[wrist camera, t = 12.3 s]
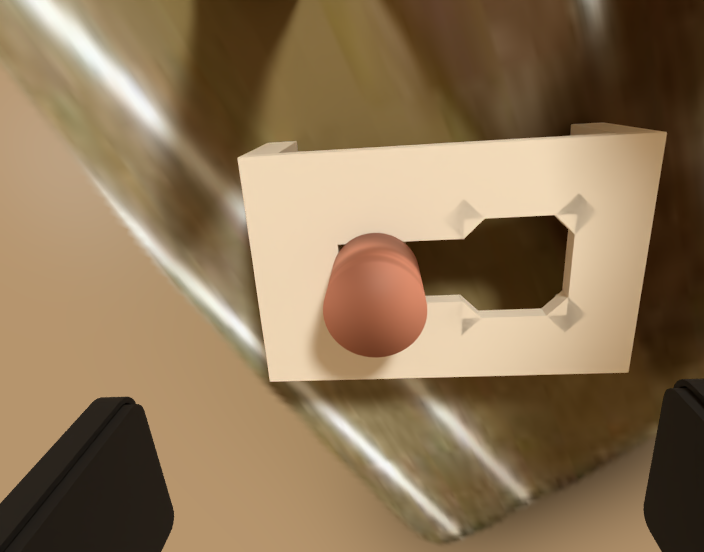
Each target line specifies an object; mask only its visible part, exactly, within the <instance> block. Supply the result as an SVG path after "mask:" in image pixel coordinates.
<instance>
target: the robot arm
mask: <svg viewBox="0 0 704 552" xmlns="http://www.w3.org/2000/svg"><path fill="white" fill-rule="evenodd" d="M644 516H645V521H646V523H647V526H648V528H649V530H650V532H651V534H652V536H653V537H654V539H655V540H656V542H657V544H658V546H659V548H660V549H661V551H662V552H704V379H681V380H679V381H677V382H676V383H675V385H674V388H670V389H667V390H666V392H665V394H664V397H663V403H662V408H661V414H660V419H659V425H658V430H657V436H656V441H655V446H654V452H653V458H652V463H651V468H650V474H649V479H648V485H647V490H646V496H645V502H644ZM173 521H174V511H173V506H172V503H171V500H170V497H169V493H168V490H167V486H166V483H165V479H164V476H163V473H162V469H161V466H160V462H159V459H158V456H157V452H156V449H155V445H154V442H153V439H152V435H151V432H150V429H149V425H148V422H147V418H146V415H145V411H144V409H143V407H142V406H141V405H139V404H136V403H135V401H134V400H133V399H132V398H130V397H105V398H98V399H96V400H95V401H93V402H92V403H91V404H90V406H89V407H88V408H87V409H86V410H85V411H84V412H83V413H82V414H81V415H80V417H79V418H78V419H77V420H76V421H75V422H74V423H73V424H72V425H71V426H70V428H69V429H68V430H67V431H66V432H65V433H64V434H63V435H62V436H61V437H60V439H59V440H58V441H57V442H56V443H55V444H54V445H53V446H52V447H51V448H50V450H49V451H48V452H47V453H46V454H45V455H44V456H43V457H42V458H41V460H39V462H38V463H37V464H36V465H35V466H34V467H33V468H32V469H31V471H30V472H29V473H28V474H27V475H26V476H25V477H24V478H23V479H22V480H21V481H20V482H19V484H18V485H17V486H16V487H15V488H14V489H13V490H12V491H11V492H10V493H9V495H8V496H7V497H6V498H5V499H4V500H3V501H2V502H1V503H0V552H161V551H162V549H163V547H164V545H165V542H166V540H167V538H168V536H169V534H170V532H171V529H172V526H173Z"/></svg>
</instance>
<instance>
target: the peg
mask: <svg viewBox="0 0 704 552" xmlns="http://www.w3.org/2000/svg"><path fill="white" fill-rule="evenodd" d="M323 316H324V321H325V324H326V327H327V329H328V331H329V333H330V334H331V336H332V337H333V338H334V339H335V341H336V342H337V343H338V344H340V345H341V346H342V347H343V348H345V349H346V350H348V351H350V352H352V353H355V354H357V355H361V356H365V357H376V358H378V357H386V356H391V355H394V354H397V353H399V352H401V351H403V350H404V349H406V348H408V347H409V346H410V345H411V344H413V343H414V342H415V340H416V339H417V338H418V337H419V335H420V334H421V332H422V330H423V329H424V326H425V323H426V319H427V302H426V297H425V293H424V288H423V284H422V279H421V275H420V270H419V266H418V262H417V259H416V257H415V255H414V253H413V252H412V250H411V249H410V248H409V247H408V246H407V245H406V242H403V241H401V240H400V239H398V238H396V237H394V236H391V235H388V234H384V233H368V234H363V235H360V236H358V237H355V238H354V239H352V240H350V241H349V242H348V243H346V244H345V245H344V246H343V247H342V248H341V250H340V251H339V253H338V254H337V256H336V258H335V261H334V264H333V268H332V272H331V276H330V279H329V283H328V287H327V291H326V295H325V299H324V303H323Z"/></svg>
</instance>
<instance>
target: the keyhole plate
mask: <svg viewBox="0 0 704 552" xmlns="http://www.w3.org/2000/svg"><path fill="white" fill-rule="evenodd" d="M666 136H667V132H664V131H657V130H650V129H644V128H637V127H631V126H624V125H617V124H611V123H604V122H600V123H584V124H571V131H570V136H556V137H539V138H522V139H506V140H489V141H472V142H456V143H439V144H422V145H405V146H389V147H372V148H355V149H339V150H322V151H305V152H298V149H297V141H291V142H275V143H266V144H264V145H262V146H260V147H258V148H256V149H254V150H252V151H250V152H248V153H246V154H244V155H242V156H240V157H238V165H239V172H240V179H241V186H242V193H243V200H244V206H245V213H246V220H247V227H248V234H249V241H250V248H251V255H252V262H253V268H254V275H255V282H256V289H257V296H258V303H259V310H260V317H261V323H262V330H263V337H264V344H265V351H266V358H267V365H268V372H269V379H270V382H278V381H317V380H356V379H395V378H434V377H473V376H513V375H552V374H591V373H628V372H629V366H630V360H631V353H632V347H633V341H634V335H635V329H636V322H637V316H638V310H639V304H640V298H641V291H642V285H643V279H644V273H645V267H646V260H647V254H648V248H649V242H650V236H651V229H652V223H653V217H654V211H655V205H656V198H657V192H658V186H659V180H660V174H661V167H662V161H663V155H664V149H665V143H666ZM547 215H554V216H555V217H556V218H557V219H558V220H559V221H560V222H561V223H562V224H563V225H564V226H565V227H566V228H567V229H568V237H567V247H566V257H565V267H564V278H563V288H562V291H561V292H560V293H559V294H555V297H554V298H553V299H552V300H551V301H549V302H548V303H547V304H546V305H545V306H544V307H542V308H540V309H512V310H484V311H478V310H477V309H476V308H475V307H473V306H472V305H471V304H470V303H469V302H468V301H467V300H465V299H464V298H463V297H462V296H461V295H460V294H459V295H440V296H425V297H426V302H427V319H426V323H425V326H424V329H423V330H422V332H421V334H420V335H419V337H418V338H417V339H416V340H415V342H414V343H413V344H411V345H410V346H409V347H408V348H406V349H404V350H403V351H401V352H399V353H397V354H394V355H391V356H386V357H378V358H376V357H365V356H361V355H357V354H355V353H352V352H350V351H348V350H346V349H345V348H343V347H342V346H341V345H340V344H338V343H337V342H336V341H335V339H334V338H333V337H332V336H331V334H330V333H329V331H328V329H327V327H326V324H325V321H324V316H323V303H324V299H325V295H326V291H327V287H328V283H329V279H330V276H331V272H332V268H333V264H334V261H335V258H336V256H337V254H338V253H339V251H340V246H339V245H340V244H346V243H348V242H349V241H350V240H352V239H354V238H355V237H358V236H360V235H363V234H368V233H384V234H388V235H391V236H394V237H396V238H398V239H400V240H401V241H403V242H406V241H428V240H450V239H464V238H465V237H466V236H467V235H468V234H469V233H470V232H471V231H472V230H474V229H475V228H476V227H477V226H478V225H479V224H480V223H481V222H482V221H483V220H484V219H485V218H506V217H526V216H547Z"/></svg>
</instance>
